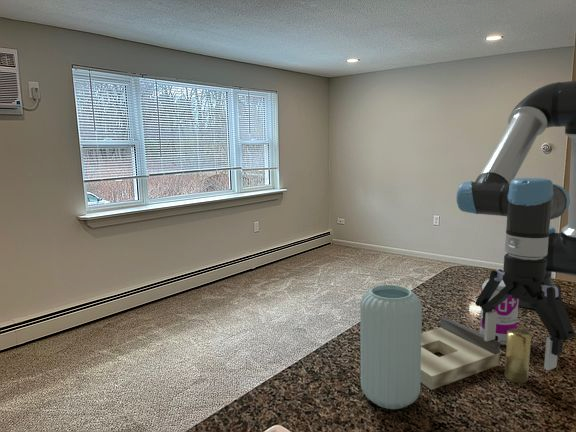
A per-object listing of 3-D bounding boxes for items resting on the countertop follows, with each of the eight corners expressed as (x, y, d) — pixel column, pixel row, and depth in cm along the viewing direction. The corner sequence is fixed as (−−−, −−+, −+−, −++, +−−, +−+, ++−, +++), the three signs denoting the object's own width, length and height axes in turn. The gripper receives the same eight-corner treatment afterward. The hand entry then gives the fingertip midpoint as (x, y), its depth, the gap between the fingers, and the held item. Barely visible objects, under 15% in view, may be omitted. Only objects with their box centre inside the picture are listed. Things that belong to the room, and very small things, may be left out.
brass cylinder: (513, 369, 92) (516, 327, 90) (532, 379, 88) (535, 335, 87) (500, 374, 90) (502, 331, 89) (518, 385, 86) (521, 339, 85)
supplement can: (520, 346, 102) (524, 288, 100) (484, 344, 104) (487, 286, 101) (510, 332, 110) (513, 277, 107) (476, 330, 112) (478, 276, 109)
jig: (444, 337, 108) (445, 316, 107) (498, 365, 94) (500, 342, 93) (382, 355, 100) (382, 334, 99) (431, 389, 86) (432, 365, 85)
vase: (357, 381, 90) (356, 282, 86) (411, 380, 89) (413, 280, 85) (365, 416, 78) (365, 303, 75) (427, 415, 78) (430, 301, 74)
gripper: (462, 244, 94) (457, 333, 98) (579, 274, 72) (567, 387, 75) (485, 241, 97) (480, 326, 101) (604, 268, 75) (592, 377, 78)
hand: (517, 353), depth 88 cm, fingers open, 13 cm apart
